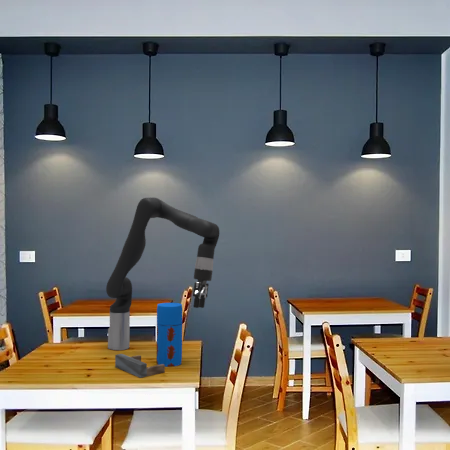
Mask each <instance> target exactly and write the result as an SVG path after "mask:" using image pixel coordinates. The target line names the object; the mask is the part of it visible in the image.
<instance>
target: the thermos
mask: <svg viewBox="0 0 450 450" xmlns="http://www.w3.org/2000/svg"><path fill="white" fill-rule="evenodd" d="M182 358H183V304H182V303H178V302H162V303H157V307H156V365H160V364H164V365H165V368H166V367H167V368H168V367H169V368H170V367H178V366H181V365H182V360H183V359H182Z"/></svg>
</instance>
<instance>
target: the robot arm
mask: <svg viewBox="0 0 450 450" xmlns="http://www.w3.org/2000/svg"><path fill="white" fill-rule="evenodd" d="M155 218H160V219H163V220H167V221H169V222H171V223H173V224H174V225H175V226H177V227H178V228H180V229H182V230H185V231H188V232H190V233H193V234H196V235H197V236H200V237H201V238H203V240H202V243H200V244H199V245H198V248H197V254H196V260H195V265H194V272H193V279H194V280H197V281H195V282H194V286H193V292H192V296H193V298H194V299H193V308H195V309H199V308H201V309H203V308H205V304H206V299H207V298H208V292H209V285H210V284H209V283H207V282H211V281H212V277H213V271H214V259H215V258H214V257H215V249H216V246H217V244H218V241H219V239H220V238H219V237H220V227H219V226H218V224H216V223H214V222H211V221H209V220H206V219H204V218H203V219H202V218H199V217H198V216H196V215H193V214H190V213H188V212H185V211H182V210H180V209H177V208H175V207H174V206H171V205H169V204H168V203H166V202H164V201H163V200H162V199H160V198H157V197H142V198H141V199H140V200H139V202H138V204H137V205H136V209H135V213H134V216H133V221H132V224H131V226H130V229H129V232H128V235H127V236H126V237H127V238H126V239H125V241H124V245H123V246H122V250H121V253H120V255H119V257H118V260H117V262H116V265H115V266H114V269H113V270H112V273H111V275H110V277H109V278H108V281H107V283H106V288H105V290H106V291H105V292H106V295H107V296H108V297H109V298H112V299H116V300H115V301H114V302H113V303H112V304H111V305H110V306H109V328H107V349H108V350H114V351H123V350H125V351H126V350H128V349H130V335H131V334H130V330H131V329H130V328H131V327H130V324H131V323H130V321H131V320H130V316H131V312H130V311H131V309H130V308H131V306H132V301H133V284H132V281H131V279H129V277H127V276H128V274H129V272H130V271H131V270H132V269H133V268H134V267H135V266H136V265H137V263H138V262H139V261H140V259H141V258H142V257H143V255H144V254H143V253H144V251H145V248H146V243H147V241H146V240H147V239H146V229H147V226H148V223H149V221H150V219H155Z"/></svg>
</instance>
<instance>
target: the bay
mask: <svg viewBox="0 0 450 450" xmlns="http://www.w3.org/2000/svg"><path fill="white" fill-rule="evenodd" d="M114 357H115V358H114V360H115V361H114V365H115V366H114V367H115V368H116V369H119V370H121V371H123V372H126V373H128V374H131V375H133V376H135V377H137V378H138V379H139V378H145V377H149V376H154V375H159V374H163V373H166V372H165V370H166V367H165V365H164V364H160V365H158V364H156V365H152V366H148V365H147V364H148V363H147V362H144V361H142V355H140V354H138V355H133V356H129V355H126V354H124V353H118V354H115V355H114ZM147 366H148V367H147Z"/></svg>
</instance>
